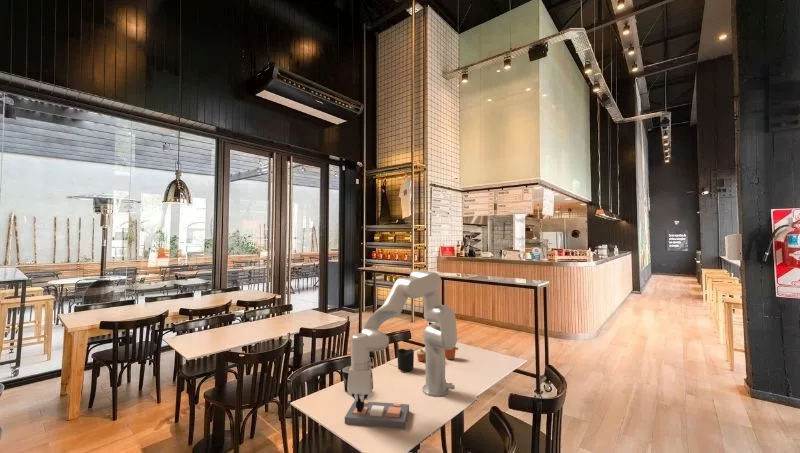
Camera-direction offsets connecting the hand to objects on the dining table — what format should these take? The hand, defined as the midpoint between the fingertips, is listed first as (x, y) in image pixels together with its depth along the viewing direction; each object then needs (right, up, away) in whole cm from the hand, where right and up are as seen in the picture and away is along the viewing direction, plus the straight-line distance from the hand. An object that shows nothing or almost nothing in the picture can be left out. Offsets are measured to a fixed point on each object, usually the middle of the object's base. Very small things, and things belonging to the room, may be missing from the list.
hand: (360, 410), depth 140 cm
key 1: (0, -2, 0) cm, 2 cm away
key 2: (+14, -1, -2) cm, 14 cm away
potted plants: (+39, -6, +70) cm, 80 cm away
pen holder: (+20, -5, +53) cm, 56 cm away
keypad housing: (+7, -4, 0) cm, 8 cm away
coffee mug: (-7, -5, +24) cm, 26 cm away
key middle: (+7, -1, -1) cm, 7 cm away
